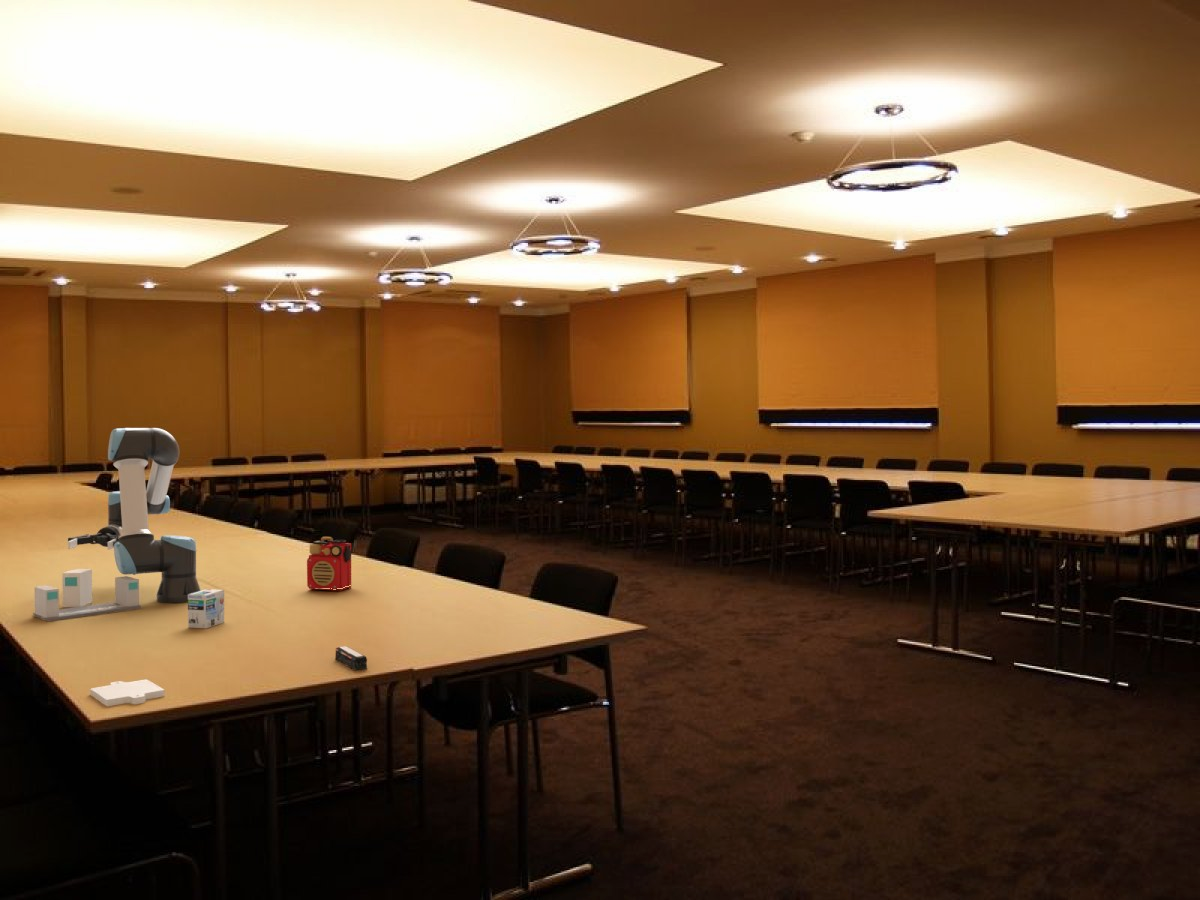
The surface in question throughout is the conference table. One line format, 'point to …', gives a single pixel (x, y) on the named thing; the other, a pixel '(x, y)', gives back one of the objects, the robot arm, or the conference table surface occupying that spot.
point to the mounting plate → (127, 692)
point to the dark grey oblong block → (351, 658)
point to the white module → (77, 587)
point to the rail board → (88, 611)
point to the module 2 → (127, 591)
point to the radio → (329, 564)
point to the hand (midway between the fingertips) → (88, 545)
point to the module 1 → (46, 601)
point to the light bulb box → (205, 608)
